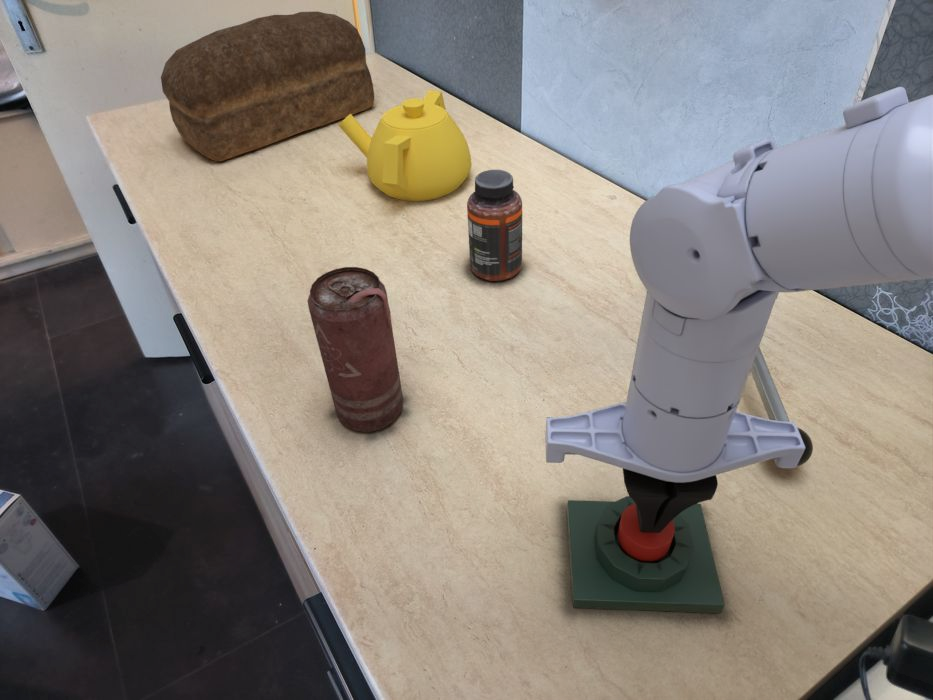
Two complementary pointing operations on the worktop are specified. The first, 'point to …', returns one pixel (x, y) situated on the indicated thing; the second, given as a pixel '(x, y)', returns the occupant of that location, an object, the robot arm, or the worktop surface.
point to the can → (357, 347)
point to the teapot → (414, 149)
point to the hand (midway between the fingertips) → (648, 519)
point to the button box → (640, 563)
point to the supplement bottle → (495, 226)
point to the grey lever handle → (775, 401)
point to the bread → (266, 82)
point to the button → (643, 538)
